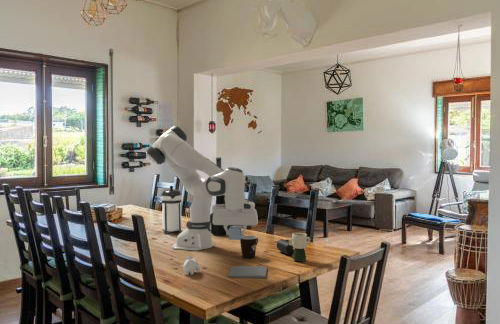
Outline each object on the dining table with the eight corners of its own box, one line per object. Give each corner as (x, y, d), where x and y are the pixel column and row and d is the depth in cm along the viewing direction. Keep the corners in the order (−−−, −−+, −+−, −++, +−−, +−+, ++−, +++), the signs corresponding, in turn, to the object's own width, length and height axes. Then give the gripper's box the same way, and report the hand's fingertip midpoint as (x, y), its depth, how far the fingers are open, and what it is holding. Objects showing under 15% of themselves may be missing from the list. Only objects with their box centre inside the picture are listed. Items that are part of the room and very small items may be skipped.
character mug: (306, 257, 208) (306, 231, 207) (313, 261, 201) (312, 234, 200) (286, 259, 205) (286, 233, 204) (291, 263, 198) (291, 236, 197)
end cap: (276, 252, 219) (276, 239, 219) (288, 250, 222) (287, 237, 222) (286, 256, 210) (286, 243, 210) (298, 255, 213) (298, 241, 213)
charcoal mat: (228, 277, 179) (228, 275, 179) (232, 267, 193) (232, 265, 193) (265, 278, 177) (265, 276, 177) (267, 268, 191) (267, 266, 191)
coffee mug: (244, 260, 204) (244, 240, 204) (237, 256, 212) (236, 236, 212) (265, 257, 210) (265, 237, 209) (257, 253, 217) (257, 234, 217)
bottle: (217, 237, 254) (217, 188, 252) (203, 233, 266) (202, 186, 265) (238, 233, 263) (238, 186, 262) (223, 229, 276) (222, 184, 275)
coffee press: (189, 230, 274) (189, 185, 273) (172, 235, 261) (172, 187, 259) (170, 227, 283) (169, 183, 282) (152, 232, 270) (151, 186, 268)
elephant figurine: (203, 275, 183) (203, 258, 182) (181, 276, 181) (180, 260, 180) (201, 269, 190) (201, 254, 190) (180, 271, 188) (179, 255, 188)
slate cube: (228, 239, 185) (228, 228, 184) (230, 237, 190) (230, 226, 189) (239, 239, 184) (239, 228, 184) (241, 237, 189) (241, 226, 189)
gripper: (210, 204, 184) (210, 236, 185) (256, 205, 182) (256, 237, 182) (213, 202, 191) (214, 233, 191) (258, 203, 188) (258, 233, 189)
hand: (235, 235), depth 187 cm, fingers closed on slate cube, 5 cm apart
